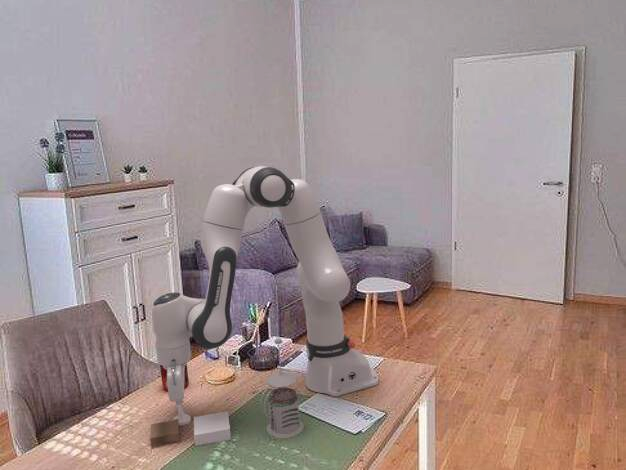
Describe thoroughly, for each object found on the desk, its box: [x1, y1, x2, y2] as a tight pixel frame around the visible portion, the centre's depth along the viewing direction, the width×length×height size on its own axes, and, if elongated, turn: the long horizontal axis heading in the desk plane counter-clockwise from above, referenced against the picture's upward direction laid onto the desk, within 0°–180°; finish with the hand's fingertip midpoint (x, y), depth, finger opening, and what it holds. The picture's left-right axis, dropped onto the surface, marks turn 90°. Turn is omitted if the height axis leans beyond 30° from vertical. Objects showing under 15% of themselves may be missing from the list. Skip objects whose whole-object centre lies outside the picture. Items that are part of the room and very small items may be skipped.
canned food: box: [159, 363, 190, 392], centre depth 165 cm, size 8×8×11 cm
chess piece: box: [172, 400, 192, 427], centre depth 144 cm, size 5×5×10 cm
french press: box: [259, 337, 305, 439], centre depth 136 cm, size 10×12×25 cm
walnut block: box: [149, 419, 181, 449], centre depth 138 cm, size 7×7×3 cm
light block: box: [193, 411, 232, 447], centre depth 138 cm, size 9×9×3 cm
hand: (179, 400), depth 144 cm, fingers closed on chess piece
